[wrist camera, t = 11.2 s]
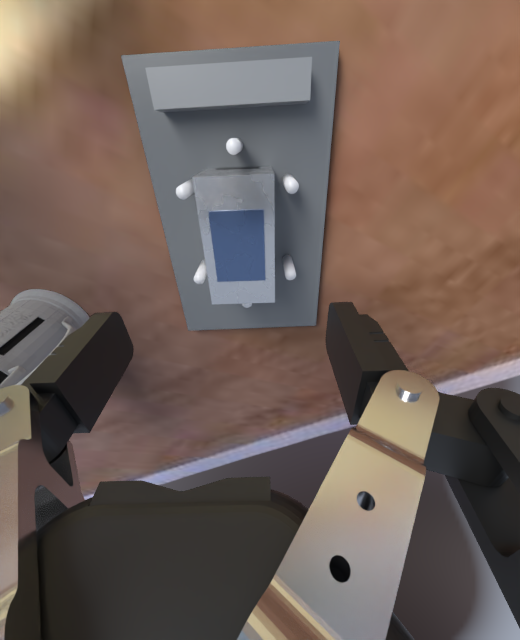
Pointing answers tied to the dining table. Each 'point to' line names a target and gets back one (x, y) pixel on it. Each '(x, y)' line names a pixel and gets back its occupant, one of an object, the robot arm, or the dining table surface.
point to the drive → (238, 232)
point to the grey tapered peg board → (241, 161)
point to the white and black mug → (34, 331)
